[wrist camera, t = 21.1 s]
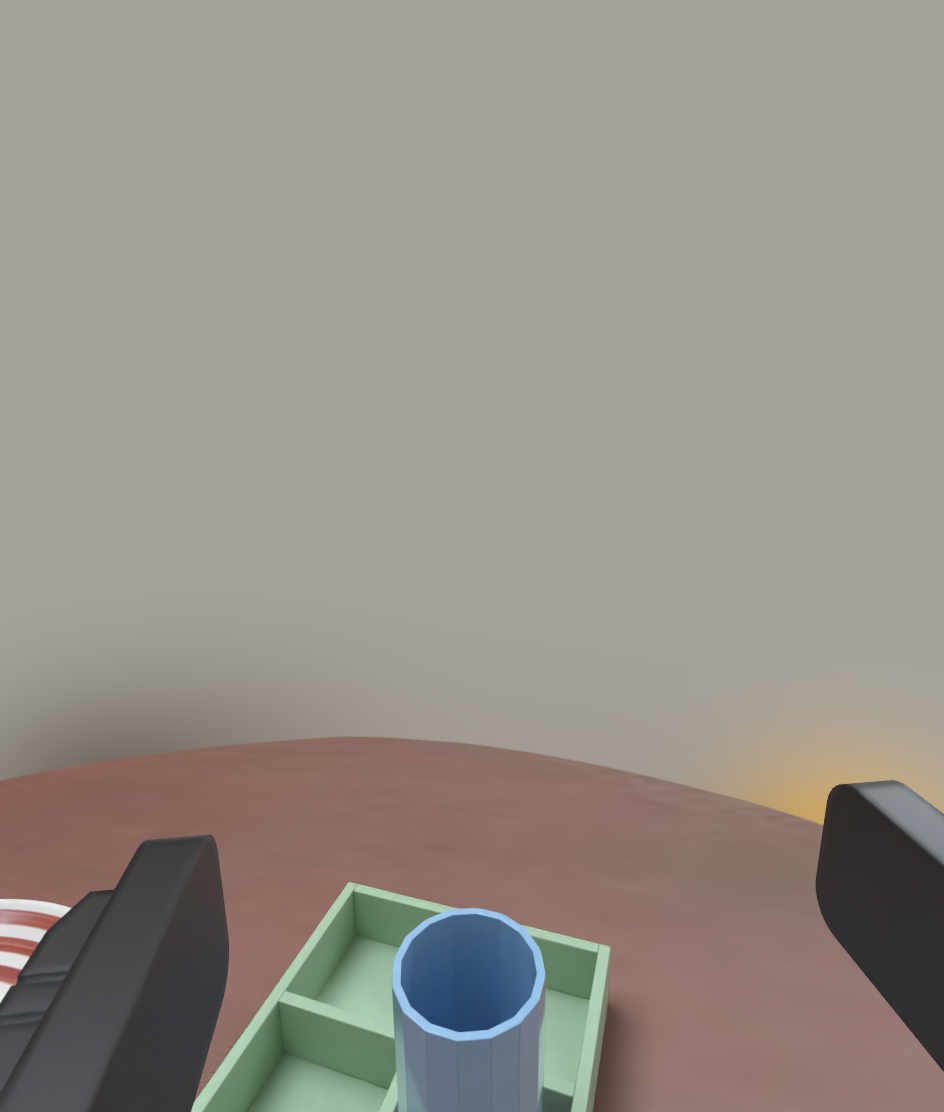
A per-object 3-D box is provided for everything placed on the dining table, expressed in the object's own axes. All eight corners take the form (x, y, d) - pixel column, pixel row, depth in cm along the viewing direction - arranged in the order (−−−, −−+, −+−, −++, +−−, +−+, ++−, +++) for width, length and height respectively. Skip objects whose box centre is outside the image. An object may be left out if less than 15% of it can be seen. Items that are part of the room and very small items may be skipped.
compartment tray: (160, 1236, 25) (148, 1166, 24) (352, 932, 39) (348, 881, 38) (549, 1427, 20) (551, 1349, 20) (608, 1002, 35) (610, 946, 34)
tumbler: (382, 1274, 24) (365, 1011, 21) (435, 1124, 28) (427, 895, 25) (521, 1336, 22) (523, 1061, 19) (552, 1166, 27) (557, 926, 24)
